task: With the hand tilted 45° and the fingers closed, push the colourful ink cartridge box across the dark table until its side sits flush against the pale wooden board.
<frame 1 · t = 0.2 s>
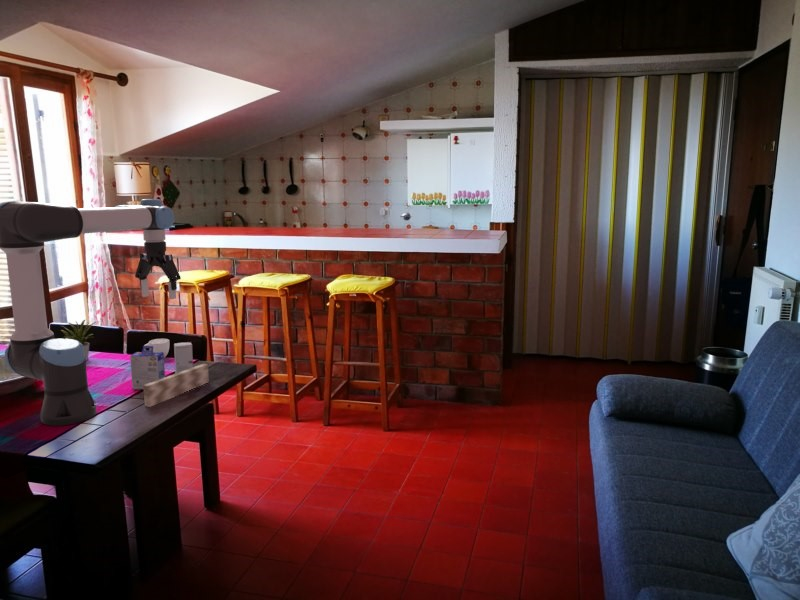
hand: (159, 297, 229), 27 cm above the table, tool pointing down, fingers open, 13 cm apart
ink cartridge box: (149, 387, 213), on the table
cup: (157, 357, 247), on the table
house plant: (83, 359, 245), on the table
skincare box: (184, 376, 226), on the table
board: (178, 393, 207), on the table
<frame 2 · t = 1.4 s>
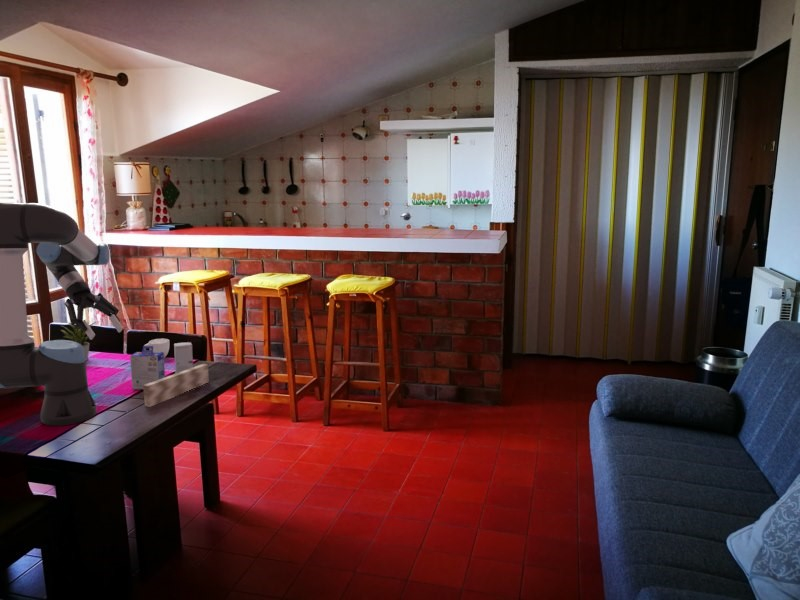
hand: (107, 333, 219), 17 cm above the table, tool tilted 45°, fingers open, 11 cm apart
nothing on the table moved.
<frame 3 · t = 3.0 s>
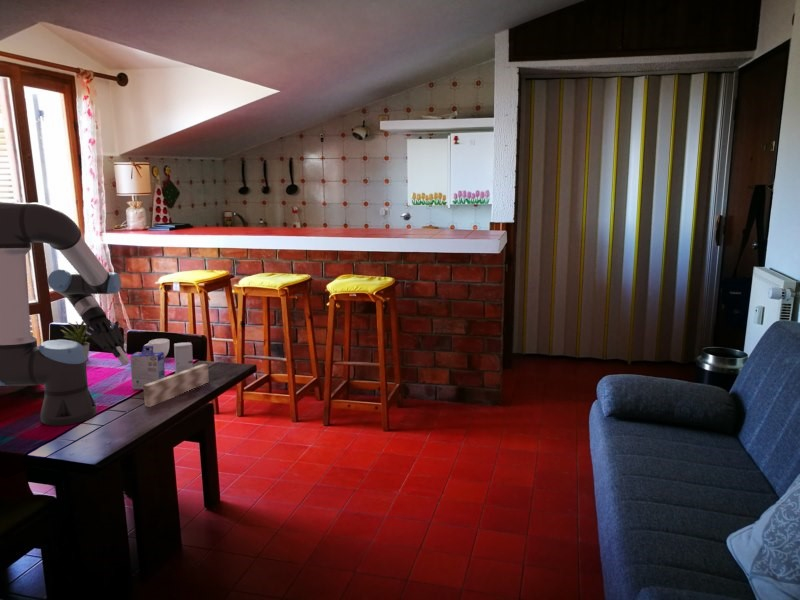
hand: (126, 362, 217), 7 cm above the table, tool tilted 45°, fingers closed
nothing on the table moved.
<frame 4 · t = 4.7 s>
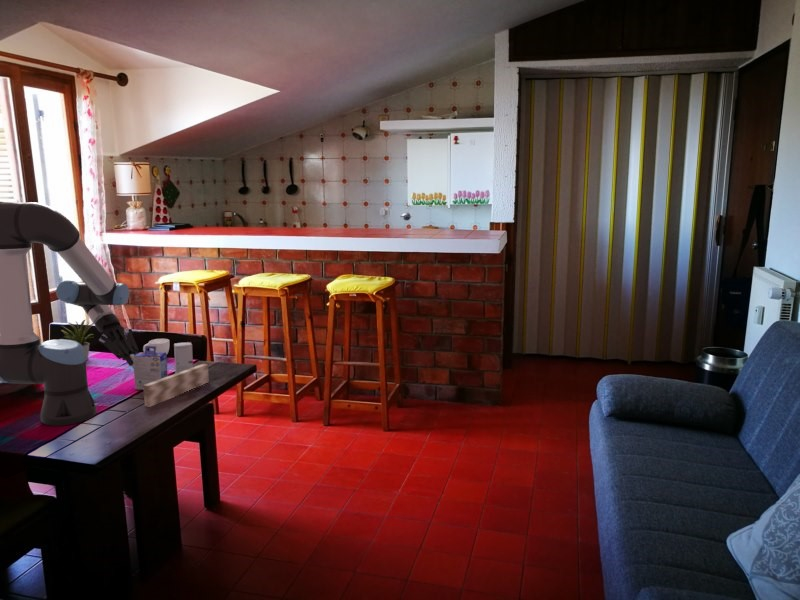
hand: (140, 370, 215), 5 cm above the table, tool tilted 45°, fingers closed
ink cartridge box: (152, 388, 212), on the table, touching gripper
everything else where it was.
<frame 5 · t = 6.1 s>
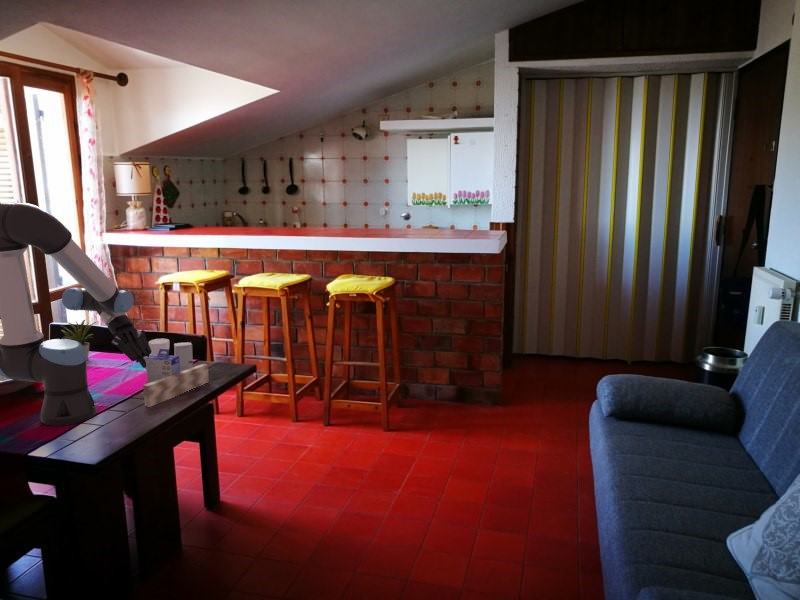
hand: (153, 373, 212), 5 cm above the table, tool tilted 45°, fingers closed
ink cartridge box: (164, 391, 209), on the table, touching board, gripper
everything else where it was.
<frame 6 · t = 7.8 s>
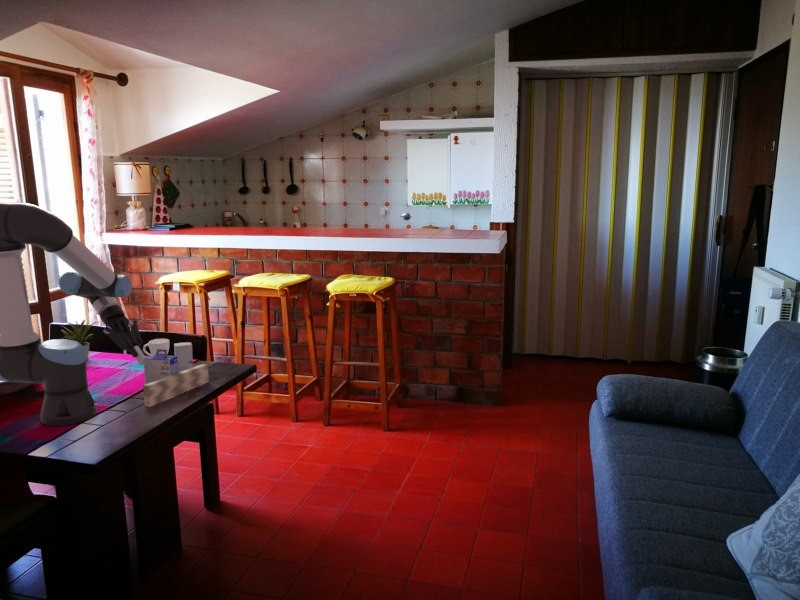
hand: (144, 362, 213), 8 cm above the table, tool tilted 45°, fingers closed
ink cartridge box: (163, 391, 209), on the table
everything else where it was.
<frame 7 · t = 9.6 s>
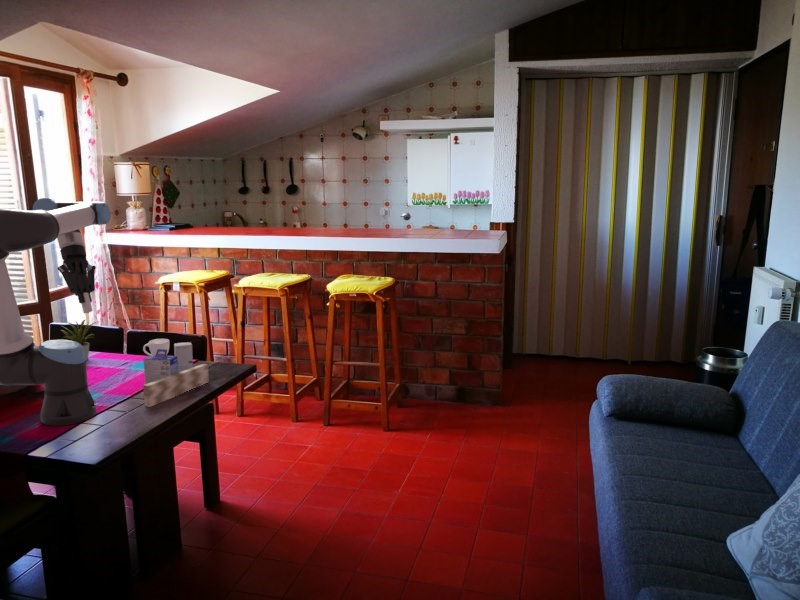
hand: (88, 311, 207), 27 cm above the table, tool tilted 25°, fingers closed
nothing on the table moved.
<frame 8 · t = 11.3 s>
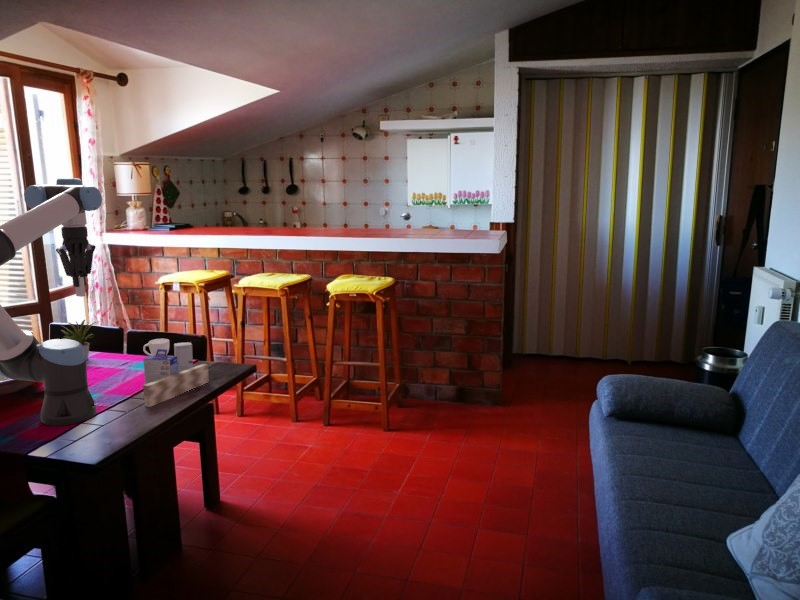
hand: (80, 295, 206), 32 cm above the table, tool pointing down, fingers closed
nothing on the table moved.
at the end: ink cartridge box inside the target area on the table beside the board (0.9 cm from its centre), on the table; ink cartridge box tilted 0° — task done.
